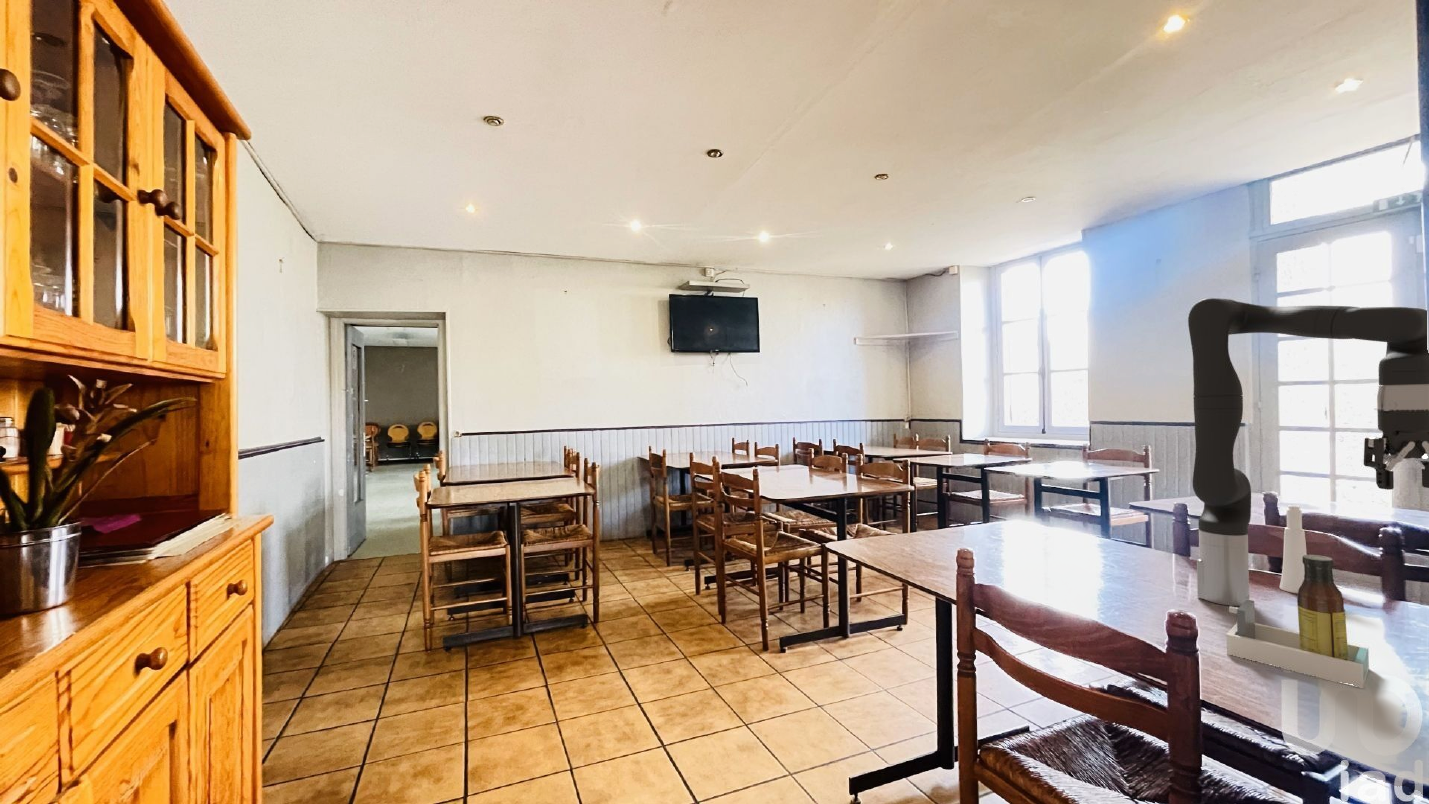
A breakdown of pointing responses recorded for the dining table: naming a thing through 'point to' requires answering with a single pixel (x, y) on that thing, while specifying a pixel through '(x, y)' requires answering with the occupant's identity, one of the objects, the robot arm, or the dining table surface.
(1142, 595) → the dining table surface
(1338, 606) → the sauce bottle
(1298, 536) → the cosmetic bottle
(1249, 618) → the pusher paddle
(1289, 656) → the pusher lane
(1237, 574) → the robot arm
